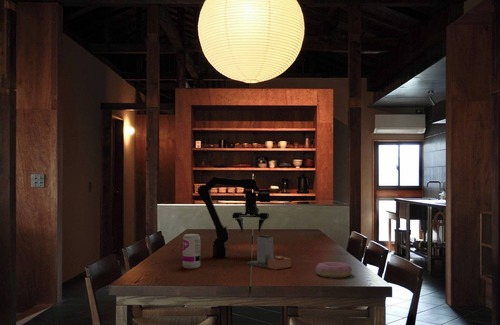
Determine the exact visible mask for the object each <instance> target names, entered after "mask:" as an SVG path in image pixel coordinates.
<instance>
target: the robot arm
mask: <svg viewBox="0 0 500 325" xmlns="http://www.w3.org/2000/svg"><path fill="white" fill-rule="evenodd" d="M216 185H224V186H234V187H240V188H243V189H244V190H243V191H242V192H241V194H242V195H243V194H244V195H245V202H244V207H245V211H244V213H243V212H242V211H240V212H239V211H237V212H236V211H235V212H233V213H232V219H234V220H235V221H237V223H238V226H239V228H240V231H241V232H242V233H243V232H244V222H243V221H244V218H259V219H258V233H261V230H262V227H263V224H264V222H265V221H267V220H268V219H270V213H269V212H260V213H259V211H260V210H259V207H258V206H257V201H259V203H271V193H270V192H271V191H270V189H260V188H259V187H258V186H257V182H256V180H255V179H254V178H241V179H237V178H227V177H219V176H213V177H212V178H211V179H210V180H209V181H207V182H206V183H205V184H202V185H200V186H199V187H198V188H197V194H198V195H199V197H200V199H201V200H202V201H203V203H204V205H205V207H206V209H207V211H208V214H209V216H210V219H211V221H212V223H213V226H214V228H215V229H214V230H215V234H216V238H215V239H214V240H213V244H212V256H211V257H212V258H225V257H227V256H228V248H227V244H225V243H227V241H229V240H228V239H229V238H230V231H229V230H228V226H227V225H226V226H224V225H223V223H222V221H221V218H220V216H219V214H218V212H217V210H216V207H215V205H214V202H213V200H212V195H211V190H212V189H213V188H214V187H215V186H216ZM253 191H254V192H253Z"/></svg>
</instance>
